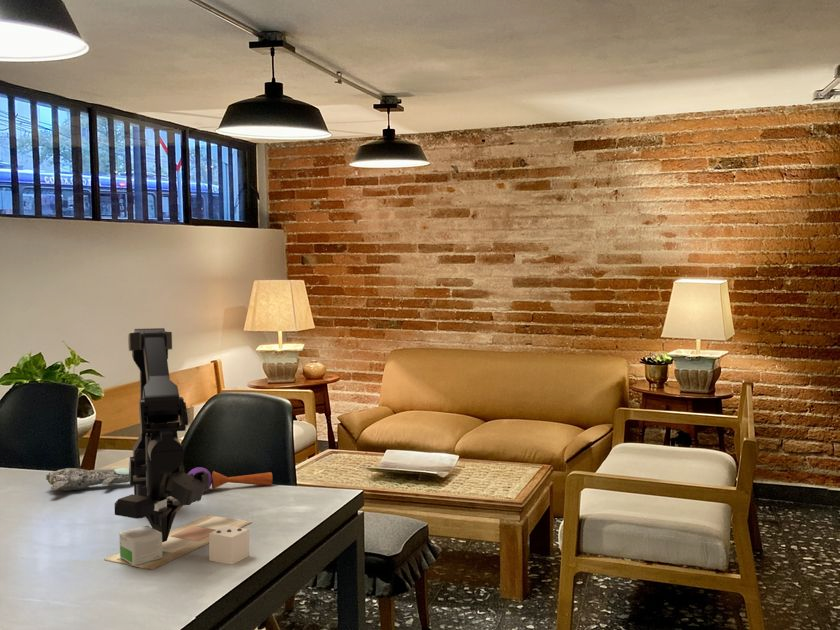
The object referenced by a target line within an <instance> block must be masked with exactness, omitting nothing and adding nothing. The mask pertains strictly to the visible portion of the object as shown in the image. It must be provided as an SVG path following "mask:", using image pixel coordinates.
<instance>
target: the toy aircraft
mask: <svg viewBox="0 0 840 630" xmlns="http://www.w3.org/2000/svg"><path fill="white" fill-rule="evenodd" d="M45 477H46V478H45V479H46V480H47V482H48V483H49V485H51V487H50V489H49V491H58V490H60V491H65V492H71V491H79V490H80V491H81V490H84V489H88V488H89V487H90V486H91V487H92V486H98V485H101V486H106V485H109V484H125V483H126V484H127V483H130V481H129V467H127V468H126V467H121V468H120V467H118V468H114V469H91V470H88V469H83V468H76V467H75V468H74V467H68V468H67V467H66V468H63V469H62V468H61V469H57V470H55V471H50V472H48V474H45ZM133 477H136V475H134V476H133Z"/></svg>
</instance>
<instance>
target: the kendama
mask: <svg viewBox="0 0 840 630" xmlns="http://www.w3.org/2000/svg"><path fill="white" fill-rule="evenodd" d="M200 471H204V472H206V473H208V478H209V484H208V487H209V489H210V488H212V490H214V489H216V488H219V487H222V485H225V484H227V483H233V484H243V485H244V484H245V485H254V486H255V485H256V486H264V487H265V486H266V487H269V486H270V487H272V485H273V473H272V472H271V471H270V472H261V473H254V474H247V475H245V474H244V475H237V476H229V477H228V476H226V475H224V474H221V473H219V472H216V471H215V470H213V471H212V474H211V472H210V471H209V470H208V469H207V468H205V467H200V466H198V467H195V468H192V469H190V471H188V473H187V474H193V476H194V475H195V474H196V473H197V472H200Z"/></svg>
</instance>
